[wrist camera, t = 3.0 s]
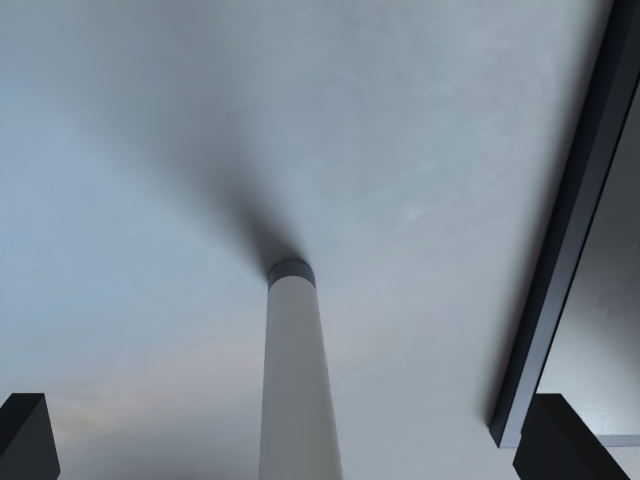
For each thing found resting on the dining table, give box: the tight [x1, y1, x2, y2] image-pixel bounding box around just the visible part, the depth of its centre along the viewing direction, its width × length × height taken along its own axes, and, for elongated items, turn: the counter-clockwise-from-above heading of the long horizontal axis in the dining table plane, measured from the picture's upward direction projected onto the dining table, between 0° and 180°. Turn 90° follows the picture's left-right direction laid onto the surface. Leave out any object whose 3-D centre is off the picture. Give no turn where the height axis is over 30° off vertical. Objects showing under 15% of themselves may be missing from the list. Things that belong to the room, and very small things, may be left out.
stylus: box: [259, 259, 343, 480], centre depth 13 cm, size 2×2×14 cm
